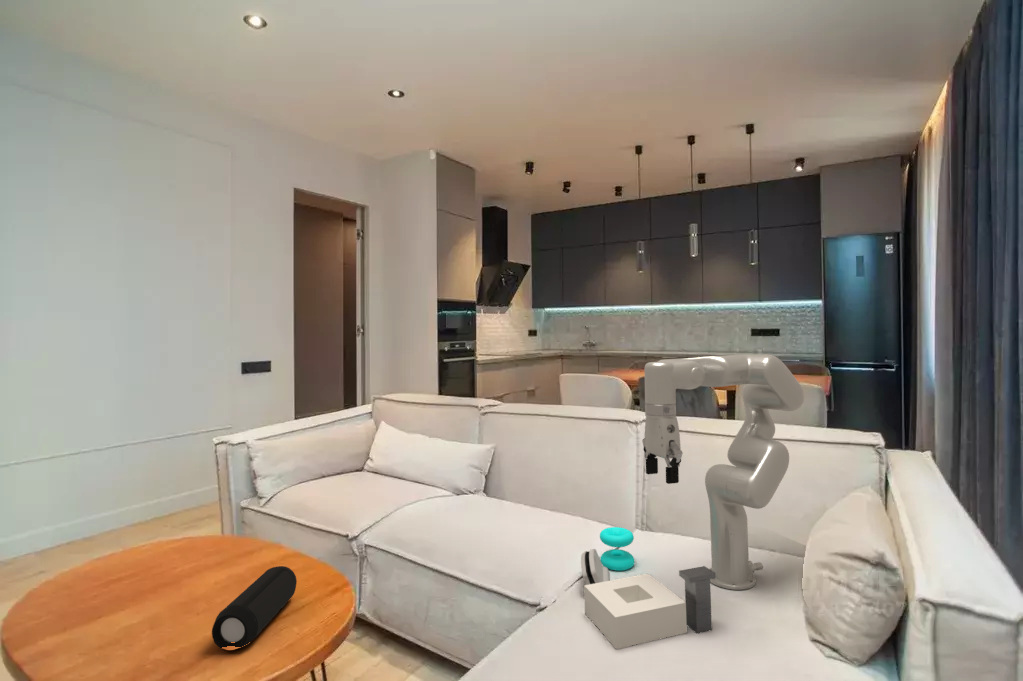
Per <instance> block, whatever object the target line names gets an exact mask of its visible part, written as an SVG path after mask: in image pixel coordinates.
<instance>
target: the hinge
mask: <svg viewBox="0 0 1023 681" xmlns="http://www.w3.org/2000/svg"><path fill="white" fill-rule="evenodd" d="M600 558H601V557H600V556H599V554H598V551H597V550H596V549H595V548H593V549H592V548H591V549H590V550H586V551H584V552H582V553H581V556H580V566H581V567H580V568H581V575H582V578H583V580H584V584H585V585H589V584H595V583H600V582H605V581H611V574H610V569H608V568H606V567H604V566H603V565H602V563H601V560H600Z"/></svg>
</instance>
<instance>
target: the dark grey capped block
mask: <svg viewBox="0 0 1023 681" xmlns="http://www.w3.org/2000/svg"><path fill="white" fill-rule="evenodd" d="M678 576H679V577H680V578H682V579H683V580H684V593H685V594H684V595H685V596H684V597H685V600H684V602H686V623H687V625H688V626H689V627H688V626H687V627H688V628H689V629H691V630H692V631H693V632H694V631H695V632H694V633H695V634H697V633H698V634H701V633H700V632H702V633H706V632H710V631H709V630H711V631H713V630H712V629H713V626H712V624H713V622H712V604H711V603H712V600H711V599H712V598H711V594H712V593H711V582H710V579H714V578H716V575H715V572H713V571H712V570H710V568H708V567H707V566H705V565H703V566H697V567H691V568H686V569H681V570H678Z"/></svg>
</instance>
